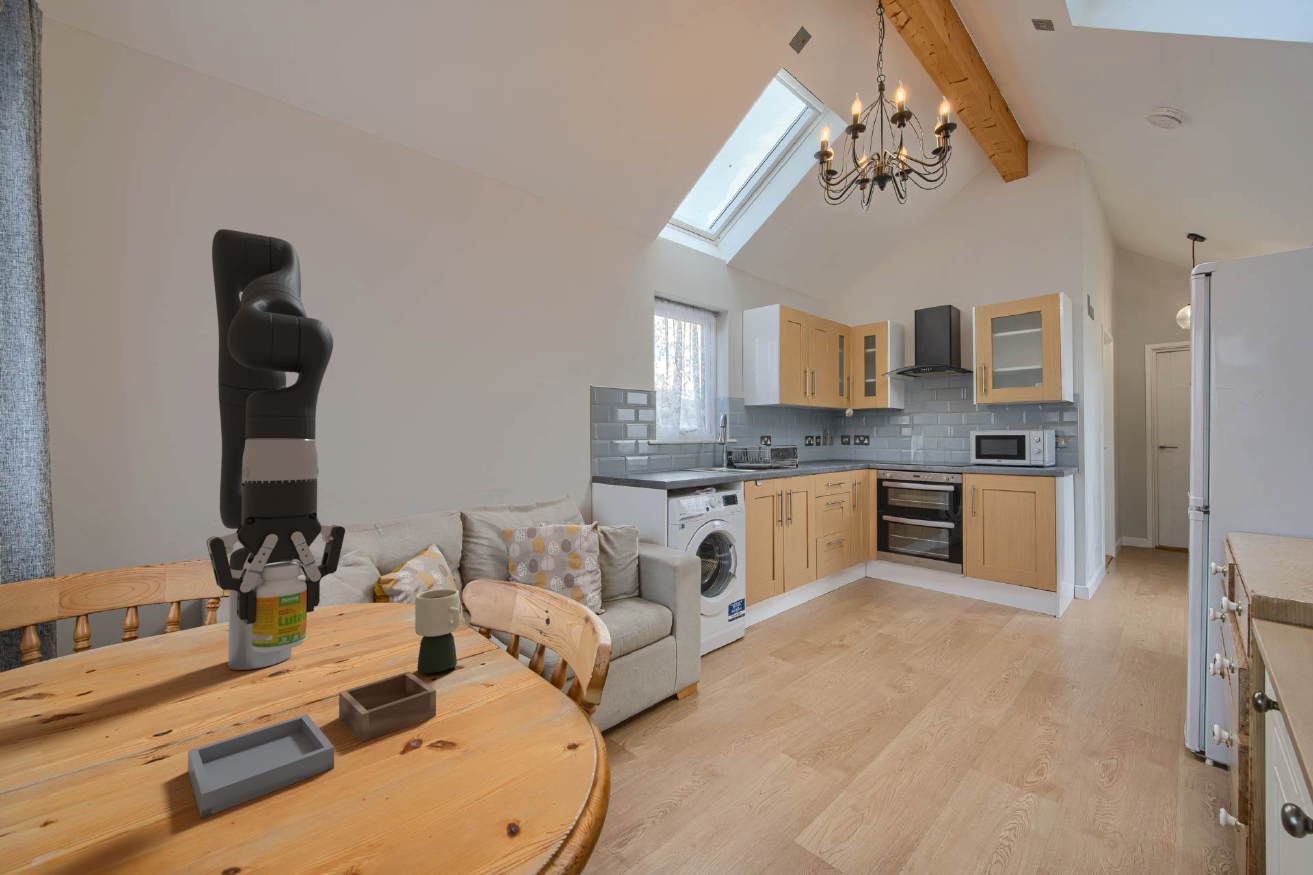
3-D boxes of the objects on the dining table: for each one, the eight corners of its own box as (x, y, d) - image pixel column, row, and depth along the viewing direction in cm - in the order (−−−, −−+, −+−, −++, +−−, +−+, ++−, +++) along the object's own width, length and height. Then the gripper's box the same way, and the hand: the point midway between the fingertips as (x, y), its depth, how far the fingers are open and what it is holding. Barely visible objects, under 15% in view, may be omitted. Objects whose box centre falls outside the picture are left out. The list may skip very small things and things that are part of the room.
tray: (187, 771, 63) (188, 750, 63) (306, 732, 71) (307, 713, 71) (201, 818, 54) (201, 794, 55) (334, 767, 63) (334, 747, 63)
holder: (339, 717, 75) (339, 692, 75) (408, 694, 82) (409, 671, 82) (362, 742, 69) (362, 714, 69) (436, 715, 76) (436, 690, 76)
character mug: (475, 669, 92) (475, 593, 92) (439, 684, 86) (439, 603, 86) (435, 657, 98) (435, 585, 98) (399, 670, 92) (399, 594, 92)
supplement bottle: (279, 654, 61) (280, 569, 62) (239, 652, 62) (241, 568, 63) (316, 639, 67) (317, 560, 67) (279, 636, 68) (281, 559, 68)
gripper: (336, 474, 73) (335, 599, 72) (199, 478, 62) (196, 624, 62) (356, 475, 68) (355, 609, 67) (210, 480, 57) (207, 639, 57)
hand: (279, 616), depth 65 cm, fingers closed on supplement bottle, 5 cm apart
